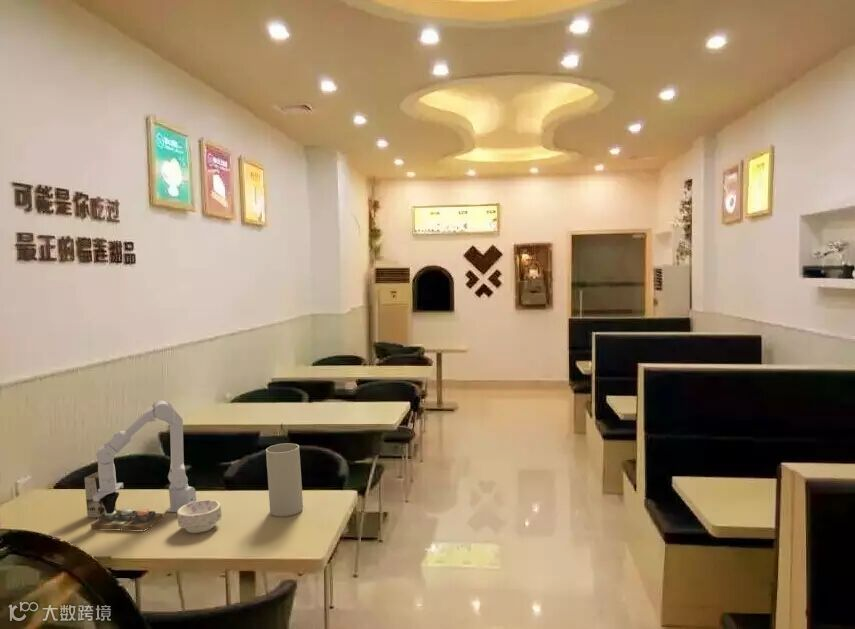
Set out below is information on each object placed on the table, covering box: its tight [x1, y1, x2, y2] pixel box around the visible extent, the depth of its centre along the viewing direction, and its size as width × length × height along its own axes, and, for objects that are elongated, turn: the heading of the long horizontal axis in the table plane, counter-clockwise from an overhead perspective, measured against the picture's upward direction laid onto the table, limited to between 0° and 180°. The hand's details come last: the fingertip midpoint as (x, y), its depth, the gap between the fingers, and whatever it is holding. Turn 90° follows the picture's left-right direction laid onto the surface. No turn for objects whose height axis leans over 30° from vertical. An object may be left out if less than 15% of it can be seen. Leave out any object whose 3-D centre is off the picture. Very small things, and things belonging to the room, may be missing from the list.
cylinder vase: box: [265, 442, 304, 518], centre depth 250 cm, size 12×12×25 cm
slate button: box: [121, 508, 134, 516], centre depth 246 cm, size 4×4×2 cm
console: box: [90, 509, 164, 532], centre depth 246 cm, size 22×12×4 cm, turn 79°
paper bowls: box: [176, 499, 223, 534], centre depth 239 cm, size 15×15×8 cm
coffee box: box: [84, 471, 117, 519], centre depth 258 cm, size 9×6×16 cm
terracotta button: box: [137, 508, 150, 517], centre depth 244 cm, size 4×4×2 cm
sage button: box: [105, 511, 116, 516], centre depth 247 cm, size 4×4×2 cm
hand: (110, 512), depth 247 cm, fingers closed, pressing on sage button
